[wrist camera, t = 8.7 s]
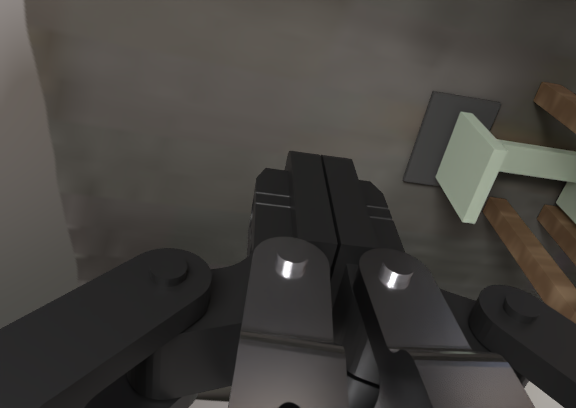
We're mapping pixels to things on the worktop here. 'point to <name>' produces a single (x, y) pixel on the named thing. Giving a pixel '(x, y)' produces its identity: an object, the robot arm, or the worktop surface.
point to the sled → (498, 167)
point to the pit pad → (443, 132)
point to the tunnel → (542, 222)
